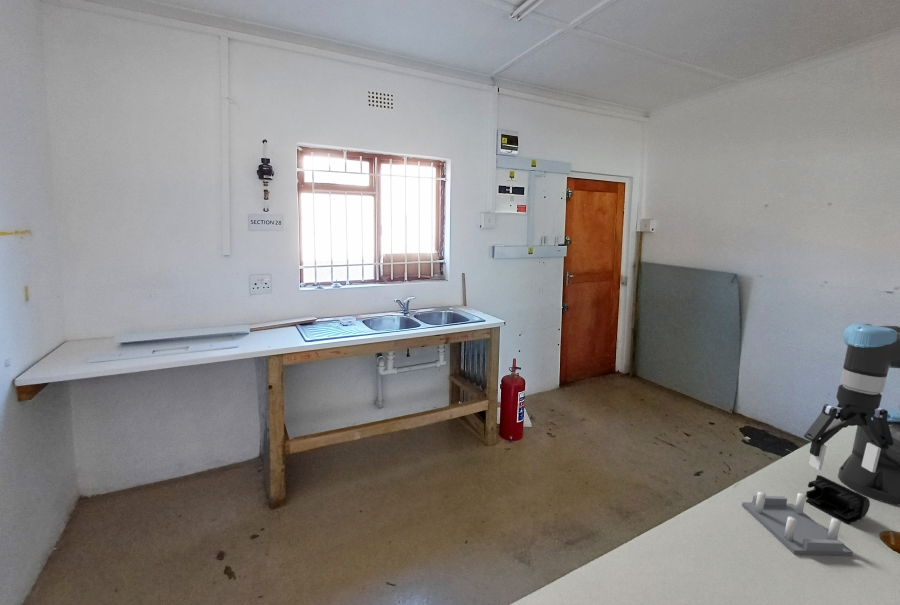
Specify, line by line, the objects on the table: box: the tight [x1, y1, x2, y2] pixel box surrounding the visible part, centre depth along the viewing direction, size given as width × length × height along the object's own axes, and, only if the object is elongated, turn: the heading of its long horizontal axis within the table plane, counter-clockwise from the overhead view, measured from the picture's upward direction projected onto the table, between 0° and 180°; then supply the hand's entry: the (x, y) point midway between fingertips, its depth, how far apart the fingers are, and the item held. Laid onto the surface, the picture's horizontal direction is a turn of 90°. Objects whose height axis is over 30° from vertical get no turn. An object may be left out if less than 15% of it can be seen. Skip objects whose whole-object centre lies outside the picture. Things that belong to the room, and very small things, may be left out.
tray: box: [741, 491, 854, 557], centre depth 97 cm, size 13×16×6 cm
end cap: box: [805, 474, 871, 525], centre depth 104 cm, size 10×7×7 cm
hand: (841, 468), depth 103 cm, fingers open, 13 cm apart
